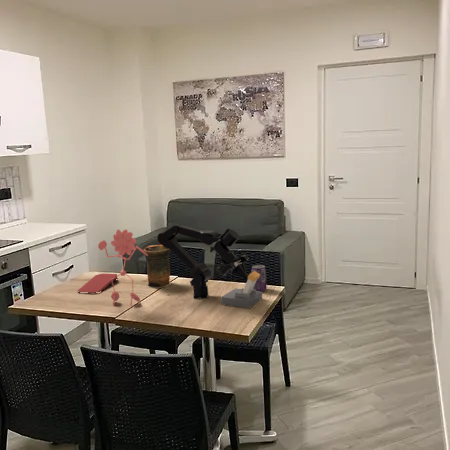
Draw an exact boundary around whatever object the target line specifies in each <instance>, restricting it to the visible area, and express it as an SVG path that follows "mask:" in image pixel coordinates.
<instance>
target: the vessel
mask: <svg viewBox="0 0 450 450" xmlns="http://www.w3.org/2000/svg"><path fill="white" fill-rule="evenodd" d="M143 250H144V251H145V252H146V253H147V255H148V256H147V255H145V254H143V255H144V256H145V259H146V272H147V283H148V284H147V285H148V286H149V287H148V286H147V287H148V288H152V289H161V288H166V287H168V286H170V285H171V284H172V282H171V280H170V277H171V267H170V253H171V252H172V250H170V249H168V248H166V247H164V246H162V245H161V244H155V245H149V246H147V247H145V248H144V249H143Z"/></svg>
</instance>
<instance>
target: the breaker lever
mask: <svg viewBox="0 0 450 450" xmlns="http://www.w3.org/2000/svg"><path fill="white" fill-rule="evenodd" d="M259 277H260V274H259V273H257V272H256V271H254V272H252V271H251V272H250V273H249V274H248V279H247V281H246V283H245V285H244V286H243V288H244V289H243V291H242V293H243V294H250V293H251V291H252V290H253V287H254V285H255V283H256V281H257V279H259Z"/></svg>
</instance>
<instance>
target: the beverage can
mask: <svg viewBox="0 0 450 450" xmlns="http://www.w3.org/2000/svg"><path fill="white" fill-rule="evenodd" d="M254 271H256V272H257V273H259V274H260V277H259V279H257V281H256V283H255V285H254V287H253V289H252V290H256V291H261V292H263V291H266V290H267V270H266V266H265V265H263V264H255V265H252V266H251V273H252V272H254Z"/></svg>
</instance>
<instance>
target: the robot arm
mask: <svg viewBox="0 0 450 450" xmlns="http://www.w3.org/2000/svg"><path fill="white" fill-rule="evenodd" d="M178 235H182V236H186V237H189V238H193V239H197V240H198V241H200V242H201V243H203V244H205V245H207V246H210V251H209V252H210V253H213V252H215V253H216V254H217V255H218V256H219V257H220V262H221V265H219V266H217V267H216V268H215V271H216V273H217V274H218V275H219V276H220V275H221V276H224V277H225V276H226V275H228V274H236V275H238V276H240V277H241V278H243V279H244V280H248V276H249V274H248V272H247V269H246V265H245V263H246V262H247V261H248V260H249V259H250V257H249V256H248V255H247V254H243V255H241V256H240V257H239V256H237V255H235V253H234V250H233V249H230V247H232V246H234V244H235V243H236V242H237V241H238V240H239V239H240V235H239V234H238V232H237V231H235V230H233V229H231V228H230V227H229V228H226V230H225V231H224V233H218V231H216V230H212V229H211V230H208V229H207V230H202V229H197V228H194V227H191V226H188V225H183V224H181V223H177V224H174V225H172V226H171V227H170V228H169V229H167V230H165V231H163V232H160V233H158V235H157V237H156V238H157V242H158V243H159V245H162V246H164V247H166V248H168V249H170V250H171V252H172V253H173V254H175V256H176V257H177V258H178V259H179V260H180V261H181V262H182V263H183V264H184V265H185V266H186V267H187V268H188V269H189V270H190V272H191V276H192V279H191V280H190V281H189V283H190V286H191V287H193V299H206V298H208V296H209V287H208V286H209V285H207V283H208V282H209V280H210V279H211V276H212V271H211V270H210V267H209V266H207V265H206V263H204V262H203V263H198V261H197V260H195V258H193V256H192V255H191V254H190V253H189V252H188V251H187V250H186V249H184V247H183V246H181V245H180V243H179V242H178V239H177V236H178Z"/></svg>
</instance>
